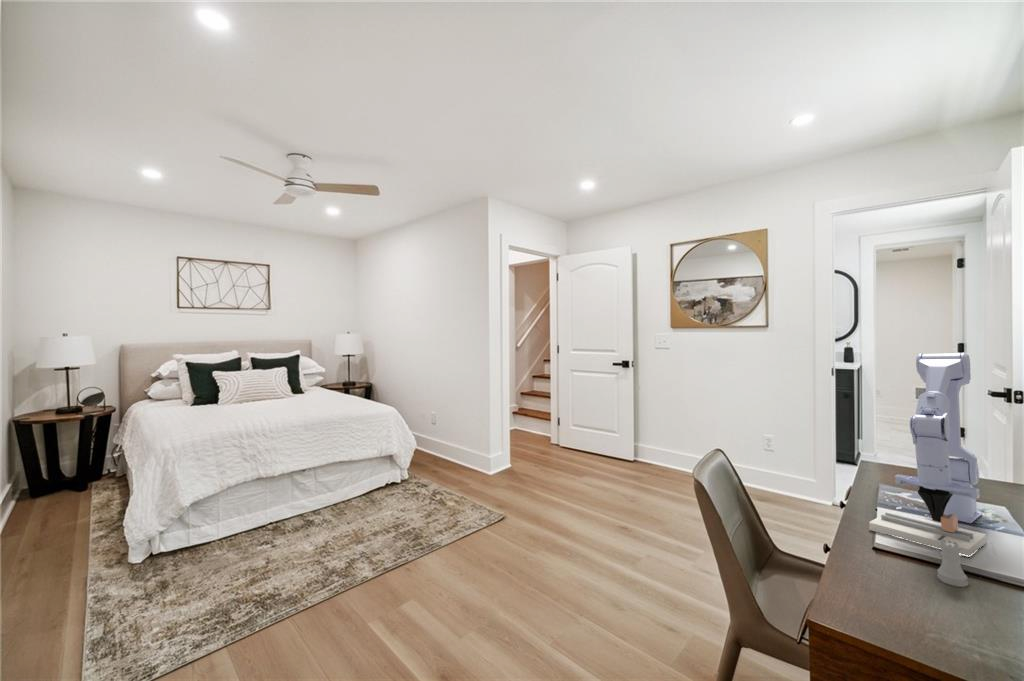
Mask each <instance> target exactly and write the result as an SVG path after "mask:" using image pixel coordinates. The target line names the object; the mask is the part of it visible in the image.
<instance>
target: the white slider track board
mask: <svg viewBox="0 0 1024 681" xmlns="http://www.w3.org/2000/svg"><path fill="white" fill-rule="evenodd" d="M868 523H869V525H868V526H869V531H873V532H875V533H879V532H882V533H885V534H884V535H886V534H890V535H894V536H898V537H902V538H904V539H908V540H911V541H915V542H919V543H922V544H926V545H930V546H934V547H937V548H940V547H939V544H940V543H941V541H942V540H946V542H948V540H951V543H953V542H956V543H957V544H958V546H959V547H960V548H961V551H960V552H959V553H961V554H965V555H968V556H969V555H971V554H972V553H974V552H975V551H976V550H978V549H979V548H980V549H982V548H983V547H984V546H985V545H986V544H987V543H988V541H987V534H986V533H982V532H978V531H975V530H974V531H973V530H970V529H967V528H962V527H958V530H956V531H955V532H954V533H953V532H949V531H945V530H942V527H941V522H938V521H934V520H929V519H925V518H921V517H917V516H913V515H909V514H905V513H901V512H897V511H891V510H888V511H886V512H884V513H883V514H881V515H879V516H878V517H876V518H874V519H872V520H870V521H869V522H868ZM882 533H881V534H882ZM982 546H983V547H982ZM981 547H982V548H981ZM980 549H979V550H980ZM979 550H978V551H979Z"/></svg>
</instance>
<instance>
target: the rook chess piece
mask: <svg viewBox="0 0 1024 681" xmlns="http://www.w3.org/2000/svg"><path fill="white" fill-rule="evenodd" d="M939 547H940V548H941V549H942V551H940V554H941V556H942V559H941V564H940V565H939V568H938V569H937V578H938V579H939V580H940V581H941V582H942V583H944V584H946V585H949V586H952V587H958V588H965V587H968V585H969V581H968V575H966V574H965V572H964V570H963V569H962V568H963V567H961V566H962V565H961V562H960V558H961V556H960V555H959V552H960V551H961V548H960V547H959V546H958V544H957V543H956V542H953V543H951V540H948V542H946V540H942V541H941V543H940V544H939Z"/></svg>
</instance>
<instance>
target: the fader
mask: <svg viewBox="0 0 1024 681" xmlns="http://www.w3.org/2000/svg"><path fill="white" fill-rule="evenodd" d="M940 523H941V527H942V530H945V531H949V532H953V533H954V532H955V531H956V530H958V528H959V521H958V519H957V516H954V515H953V514H944V515H943V516H941V521H940Z"/></svg>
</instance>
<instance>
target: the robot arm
mask: <svg viewBox="0 0 1024 681" xmlns="http://www.w3.org/2000/svg"><path fill="white" fill-rule="evenodd" d="M915 367H916V372H917V374H918V375H919V377H920V379H921V380H922V381H923V383H925V391H924V392H923V393H921V394H919V395H918V400H917V406H916V408H915V409H916V410H915V415H911V416H910V420H909V430H910V434H911V436H912V438H911V439H912V443H913V445H914V446H915V447H914V448H915V457H916V470H917V476H911V475H904V474H896V475H894V483H895V484H897V485H906V486H910V487H915V488H916V487H917V488H918V490H917V493H918V496H919V497H920V498H921V500H922V501H923V502H924V504H925V505H926V508H927V509H928V511H929V514H930V517H931V519H932V520H931V521H934V522H938V523H941V516H943V515H944V514H953V515H954V516H957V519H958V522H962V523H967V524H972V523H973V522H974V521H975V520H977V519H978V518H980V517H981V516H982V515H983V512H981V511H978V509H977V500H978V499H980V496H981V494H980V489H979V488H975V487H973V485H974V486H975V485H977V484H978V483H979V480H980V471H979V465H978V458H977V457H976V455H975V454H974V453H973V452H971V451H970V450H968V449H966V448H964V447H963V446H962V439H961V437H962V436H961V433H962V432H961V415H960V414H961V413H960V412H961V411H960V391H961V388H962V386H966V385H969V384H970V383H971V376H972V375H971V359H970V356H969V354H967V353H966V352H955V353H951V352H949V353H946V352H945V353H921V352H920V353H919V354H918V355H916V359H915ZM953 457H955V458H953ZM956 457H957V458H956ZM961 458H962V459H961Z"/></svg>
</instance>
